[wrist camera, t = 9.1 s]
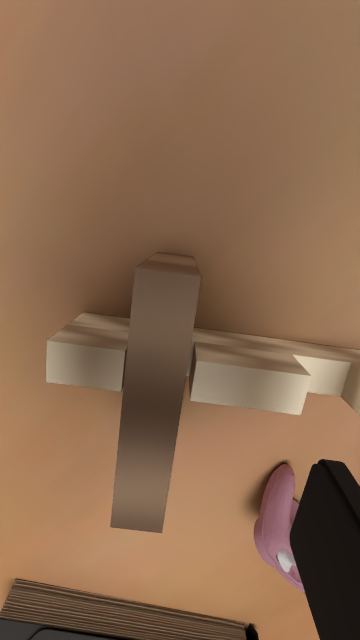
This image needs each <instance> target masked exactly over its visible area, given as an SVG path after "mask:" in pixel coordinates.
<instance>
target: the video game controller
mask: <svg viewBox="0 0 360 640" xmlns="http://www.w3.org/2000/svg"><path fill="white" fill-rule="evenodd" d="M294 489H295V476H294V472H293V469H292V468H291V467H290V466H289V465H287V464H282V465H280V466H279V467H278V468H277V469H276V470H275V471H274V472H273V474H272V475H271V477H270V479H269V481H268V483H267V486H266V489H265V492H264V495H263V499H262V504H261V509H260V515H259V518H258V519H257V520H256V522H255V525H254V540H255V544H256V547H257V550H258V552H259V554H260V555H261V557H262V558H263V560H264V561H265V562H266V563H267V564H269V565H270V566H272V567H275V568H276V570H277V571H278V572H279V573H280V574H281V575H282V576H283V577H284V578H285V579H286V580H287V581H288V582H289V583H291V584H292V585H293V586H295V587H296V588H297V589H299V590H300V591H302V592H304V593H305V591H304V588H303V584H302V581H301V578H300V575H299V572H298V569H297V566H296V562H295V559H294V556H293V553H292V550H291V546H290V539H289V536H290V530H291V527H292V524H293V521H294V518H295V515H296V512H297V509H298V506H299V504H298V503H297V502H296V501H295V500H293V494H294Z"/></svg>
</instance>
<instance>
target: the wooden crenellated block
mask: <svg viewBox="0 0 360 640" xmlns="http://www.w3.org/2000/svg"><path fill="white" fill-rule="evenodd" d="M129 326H130V319H129V318H121V317H114V316H107V315H99V314H92V313H85V312H83V313H82V314H80V315H79V316H78V317H77V318H75V319H74V320H73V321H71V322H70V323H69V324H68V325H66V326H65V327H64V328H62V329H61V330H60V331H59V332H57V333H56V334H55V335H53V336H52V337H51V338H50V339H48V340H47V358H46V382H50V383H58V384H65V385H73V386H81V387H88V388H96V389H104V390H111V391H119V392H121V391H122V388H123V386H124V378H125V368H126V357H127V347H128V336H129ZM186 376H189V387H190V401H196V402H203V403H211V404H219V405H226V406H234V407H242V408H249V409H257V410H265V411H272V412H280V413H288V414H295V415H301V412H302V409H303V405H304V401H305V398H306V394H307V392H311V393H319V394H326V395H334V396H341V397H342V398H343V399H344V400H345V401H346V402H347V403H348V404H349V405H350V407H351V408H352V409H353V410H354V411H355V412H356V413H357V414H358V415H359V416H360V350H355V349H348V348H340V347H333V346H326V345H318V344H311V343H304V342H296V341H289V340H282V339H275V338H267V337H260V336H253V335H245V334H238V333H231V332H223V331H216V330H209V329H202V328H194V329H193V335H192V342H191V348H190V355H189V361H188V368H187V374H186Z"/></svg>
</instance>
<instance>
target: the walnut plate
mask: <svg viewBox="0 0 360 640" xmlns="http://www.w3.org/2000/svg"><path fill="white" fill-rule="evenodd" d="M200 284H201V275H200V272H199V270H198V268H197V265H196V263H195V260H194V258H193V257H190V256H182V255H175V254H168V253H161V252H157V253H156V254H154V255H153V256H151V257H150V258H148V259H147V260H146V261H144V262H143V263H141V264H140V265H138V266H137V267H135V273H134V284H133V294H132V305H131V315H130V326H129V336H128V347H127V357H126V368H125V378H124V389H123V399H122V410H121V420H120V431H119V441H118V452H117V462H116V473H115V483H114V494H113V504H112V515H111V525H110V527H113V528H121V529H130V530H139V531H148V532H156V533H162V529H163V522H164V516H165V509H166V503H167V497H168V490H169V484H170V477H171V471H172V464H173V458H174V451H175V445H176V439H177V432H178V426H179V419H180V413H181V406H182V400H183V393H184V387H185V381H186V374H187V368H188V361H189V355H190V348H191V342H192V335H193V329H194V322H195V316H196V310H197V303H198V297H199V290H200Z"/></svg>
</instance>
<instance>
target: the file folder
mask: <svg viewBox="0 0 360 640" xmlns="http://www.w3.org/2000/svg"><path fill="white" fill-rule="evenodd" d="M243 625H244V623H243V622H239V621H234V620H228V619H220V618H215V617H209V616H204V615H199V614H195V613H190V612H185V611H180V610H175V609H170V608H165V607H160V606H155V605H150V604H145V603H140V602H135V601H130V600H126V599H121V598H116V597H111V596H105V595H100V594H94V593H89V592H83V591H78V590H72V589H67V588H61V587H56V586H50V585H45V584H39V583H33V582H28V581H22V580H17V579H15V583H13V588H11V590H10V592H9V594H8V597H7V599H6V601H5V604H4V605H3V608H2V610H1V611H0V640H259V639H258V633H257V631H256V630H255V629H254V627H253V626H252V624H251V623H250V624H249V626H248V628H247V631H246V633H245V630H244V627H245V626H243Z"/></svg>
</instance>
